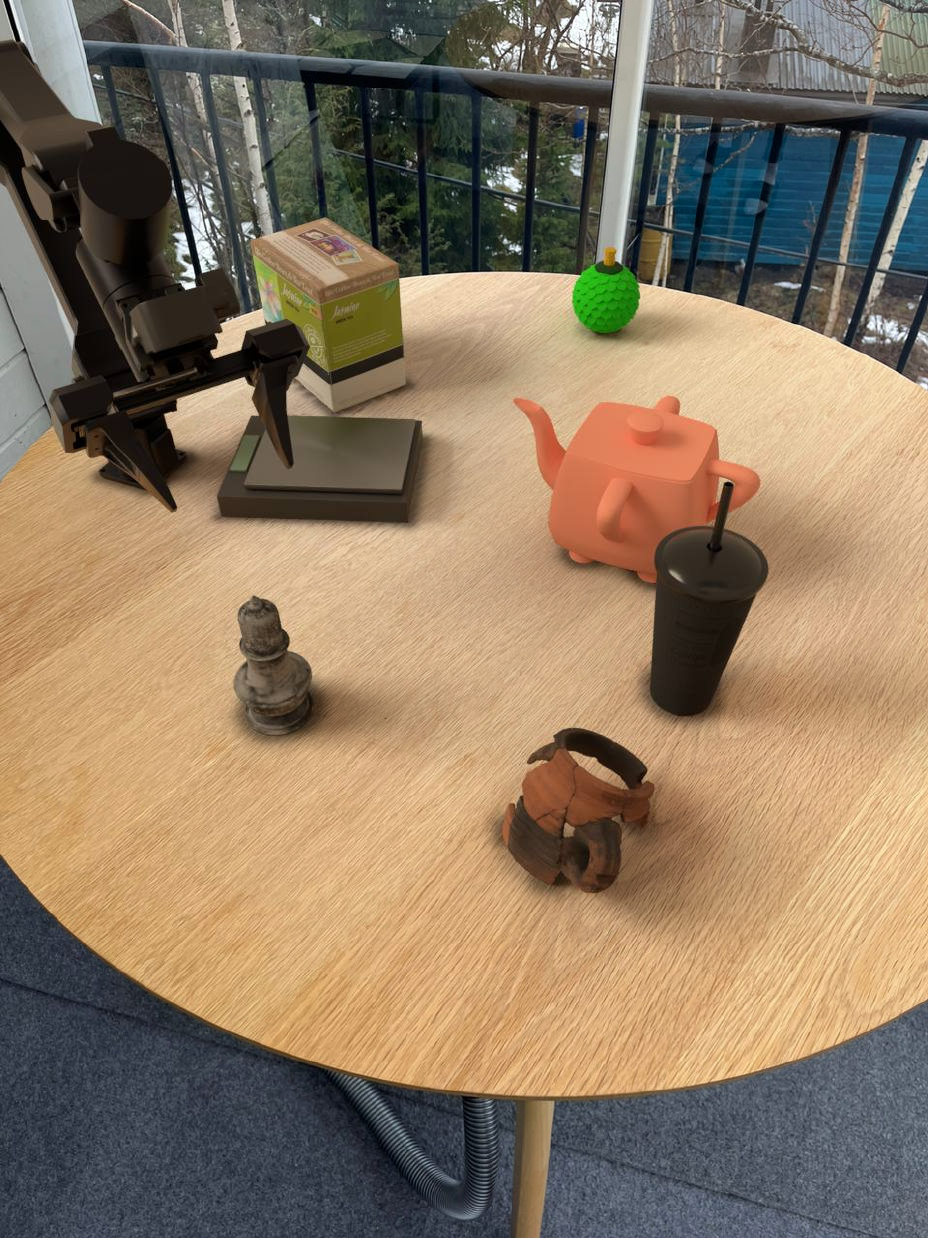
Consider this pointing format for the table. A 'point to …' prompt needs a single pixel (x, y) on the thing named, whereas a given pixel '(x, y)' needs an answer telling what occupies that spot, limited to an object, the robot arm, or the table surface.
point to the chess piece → (271, 672)
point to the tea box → (335, 309)
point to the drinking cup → (700, 609)
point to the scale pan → (337, 456)
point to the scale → (310, 503)
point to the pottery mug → (576, 811)
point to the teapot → (632, 480)
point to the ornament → (606, 295)
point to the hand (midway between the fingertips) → (234, 488)
